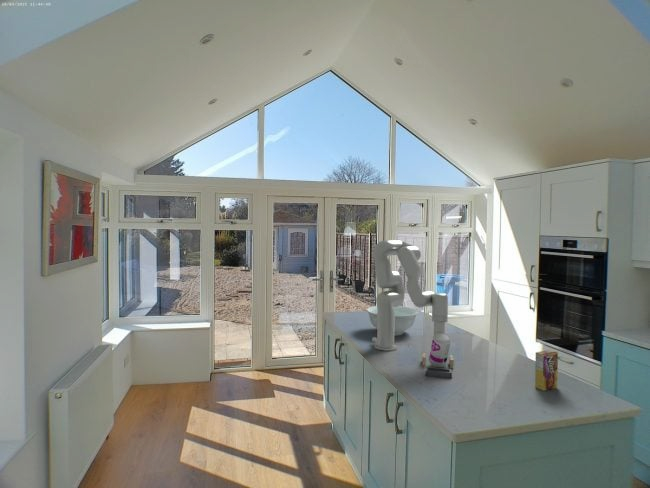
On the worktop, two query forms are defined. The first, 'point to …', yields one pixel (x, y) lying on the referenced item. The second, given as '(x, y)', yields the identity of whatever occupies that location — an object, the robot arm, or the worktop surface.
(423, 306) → the robot arm
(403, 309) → the bowl
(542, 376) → the candy box
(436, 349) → the supplement can
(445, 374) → the pit tray
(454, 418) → the worktop surface
